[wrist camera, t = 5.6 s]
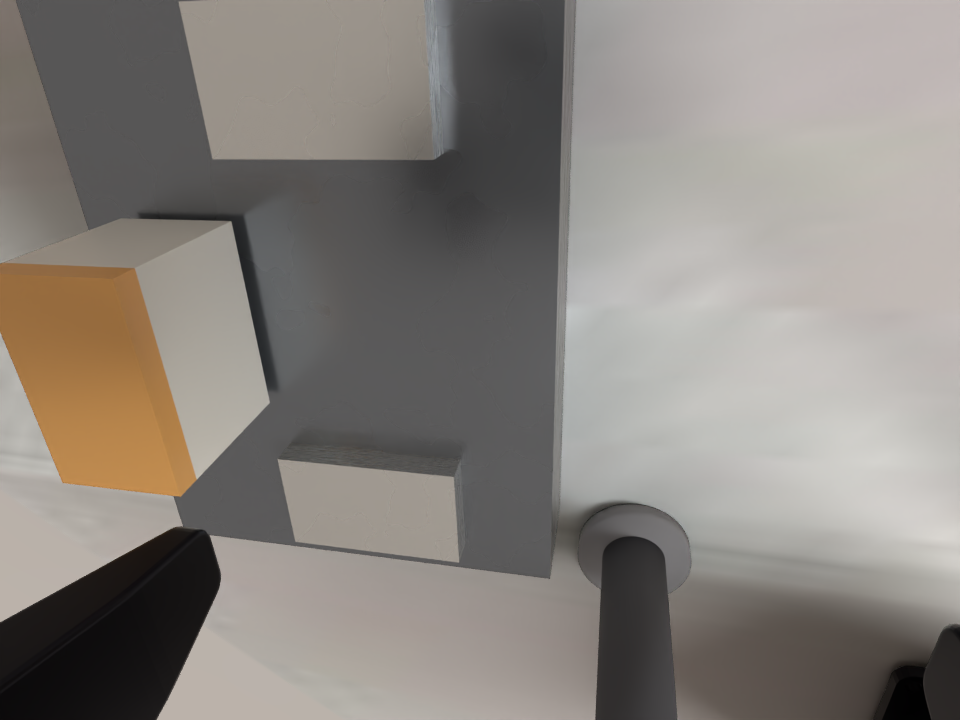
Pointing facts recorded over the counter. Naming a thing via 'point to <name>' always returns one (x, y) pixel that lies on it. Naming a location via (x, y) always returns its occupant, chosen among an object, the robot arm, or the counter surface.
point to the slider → (135, 350)
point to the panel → (355, 247)
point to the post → (634, 607)
